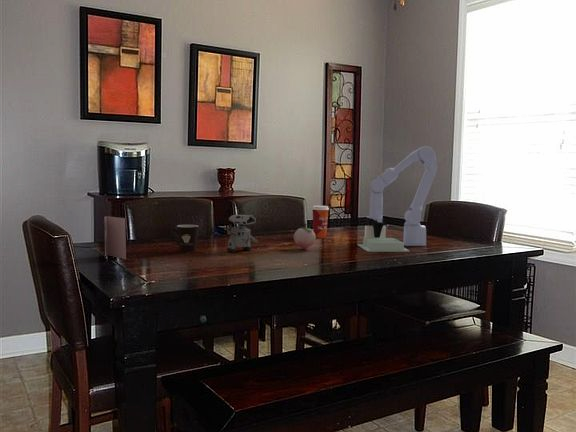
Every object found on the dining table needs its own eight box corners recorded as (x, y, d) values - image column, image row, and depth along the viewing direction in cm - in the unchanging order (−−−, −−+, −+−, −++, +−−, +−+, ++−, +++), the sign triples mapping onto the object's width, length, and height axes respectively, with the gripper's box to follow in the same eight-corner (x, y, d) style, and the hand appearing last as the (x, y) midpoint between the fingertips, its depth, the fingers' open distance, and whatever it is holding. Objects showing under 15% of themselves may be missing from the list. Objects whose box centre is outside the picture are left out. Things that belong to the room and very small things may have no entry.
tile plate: (383, 243, 250) (384, 225, 249) (385, 244, 247) (386, 226, 246) (364, 243, 249) (365, 225, 248) (365, 244, 246) (366, 226, 245)
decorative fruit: (319, 249, 228) (320, 225, 227) (306, 251, 222) (307, 227, 221) (302, 246, 235) (303, 223, 234) (289, 249, 229) (290, 225, 228)
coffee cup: (322, 239, 258) (322, 207, 257) (307, 237, 263) (308, 206, 262) (331, 237, 265) (332, 206, 264) (317, 235, 270) (318, 205, 268)
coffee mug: (202, 250, 222) (203, 225, 221) (190, 253, 214) (190, 227, 213) (179, 247, 227) (179, 223, 226) (166, 250, 219) (166, 225, 218)
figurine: (241, 255, 212) (242, 216, 211) (224, 250, 221) (225, 213, 219) (260, 252, 218) (260, 215, 217) (243, 248, 227) (243, 212, 225)
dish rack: (397, 245, 244) (397, 237, 244) (409, 251, 228) (410, 243, 227) (357, 245, 242) (357, 237, 242) (367, 251, 226) (367, 243, 225)
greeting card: (102, 256, 205) (101, 216, 203) (123, 255, 208) (122, 215, 206) (104, 261, 194) (103, 219, 193) (126, 260, 197) (125, 218, 195)
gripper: (363, 204, 253) (362, 234, 254) (371, 207, 238) (370, 238, 240) (378, 205, 254) (377, 234, 255) (387, 207, 239) (386, 238, 241)
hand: (375, 236), depth 247 cm, fingers open, 6 cm apart
